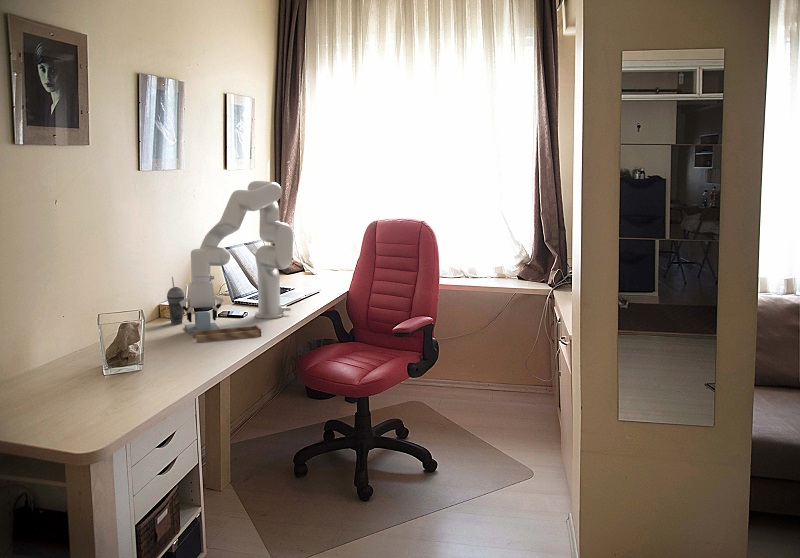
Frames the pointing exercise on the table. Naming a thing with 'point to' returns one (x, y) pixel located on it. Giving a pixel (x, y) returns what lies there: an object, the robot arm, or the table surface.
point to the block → (202, 320)
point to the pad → (192, 328)
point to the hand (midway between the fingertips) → (202, 320)
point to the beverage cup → (175, 304)
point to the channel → (227, 333)
